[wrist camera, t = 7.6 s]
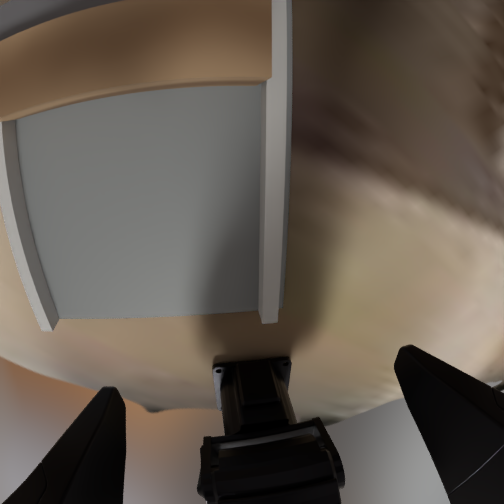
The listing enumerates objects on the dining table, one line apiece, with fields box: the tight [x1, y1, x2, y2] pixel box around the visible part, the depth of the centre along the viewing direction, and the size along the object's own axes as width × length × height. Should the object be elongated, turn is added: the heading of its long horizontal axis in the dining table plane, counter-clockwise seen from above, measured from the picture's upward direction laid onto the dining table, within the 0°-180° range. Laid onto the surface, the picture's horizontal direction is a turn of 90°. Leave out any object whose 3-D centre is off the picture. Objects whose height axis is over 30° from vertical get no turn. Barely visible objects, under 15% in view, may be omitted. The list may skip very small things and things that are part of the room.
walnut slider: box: [0, 0, 272, 122], centre depth 10 cm, size 4×14×4 cm, turn 90°
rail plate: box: [0, 0, 292, 331], centre depth 14 cm, size 21×18×4 cm
